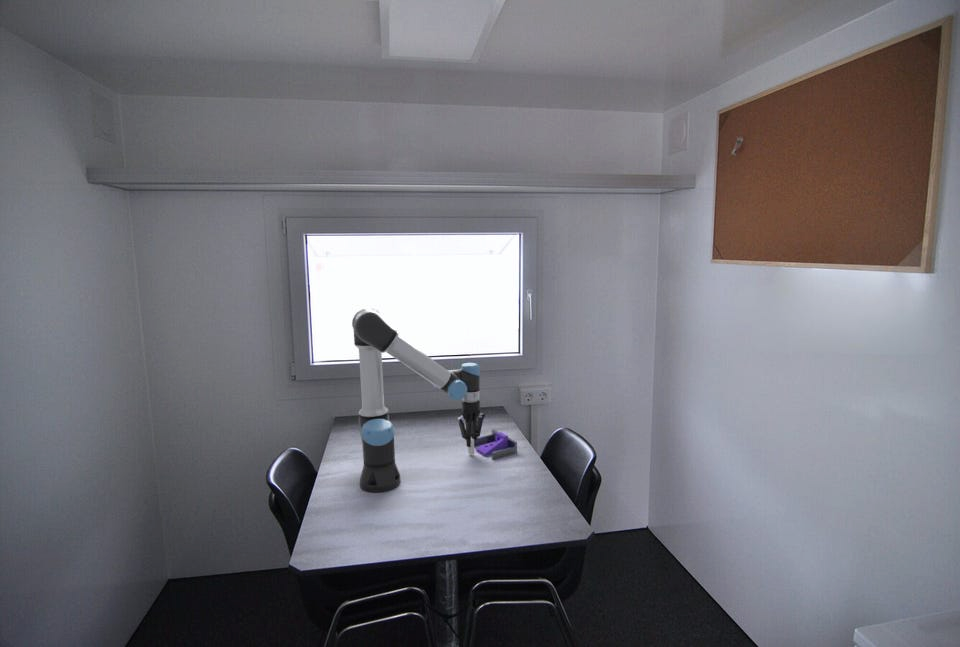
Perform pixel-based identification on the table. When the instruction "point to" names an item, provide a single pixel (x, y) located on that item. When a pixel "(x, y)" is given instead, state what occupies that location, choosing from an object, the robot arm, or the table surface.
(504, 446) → the bracket
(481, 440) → the dock
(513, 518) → the table surface
